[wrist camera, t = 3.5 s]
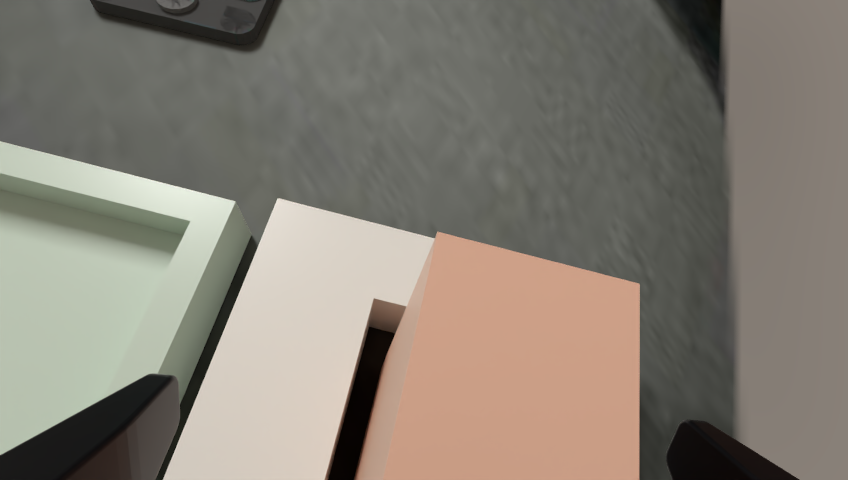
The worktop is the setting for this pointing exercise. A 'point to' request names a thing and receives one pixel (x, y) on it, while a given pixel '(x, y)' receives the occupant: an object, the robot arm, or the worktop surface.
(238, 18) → the smartphone
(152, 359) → the tray
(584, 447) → the salmon pink rectangular block
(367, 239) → the white slotted base
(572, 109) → the worktop surface
